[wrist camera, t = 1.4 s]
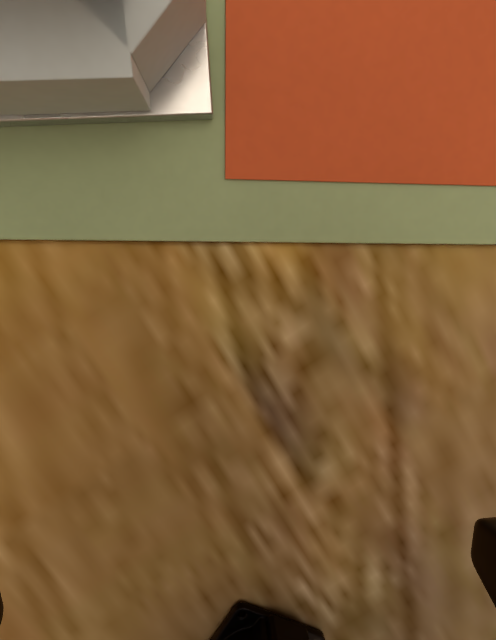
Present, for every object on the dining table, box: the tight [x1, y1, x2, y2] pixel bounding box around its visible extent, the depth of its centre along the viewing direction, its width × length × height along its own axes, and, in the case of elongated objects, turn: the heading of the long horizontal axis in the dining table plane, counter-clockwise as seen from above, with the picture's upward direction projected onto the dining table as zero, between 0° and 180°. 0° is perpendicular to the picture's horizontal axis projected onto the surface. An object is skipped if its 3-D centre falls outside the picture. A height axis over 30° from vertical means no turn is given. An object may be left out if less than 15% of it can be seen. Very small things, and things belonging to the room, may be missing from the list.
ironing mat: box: [0, 0, 496, 245], centre depth 16 cm, size 28×15×1 cm, turn 89°
